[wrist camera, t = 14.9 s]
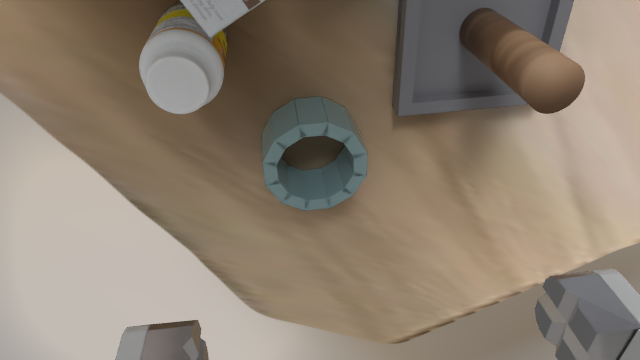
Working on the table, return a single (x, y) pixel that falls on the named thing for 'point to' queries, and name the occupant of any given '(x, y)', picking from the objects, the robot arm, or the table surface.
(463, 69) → the tray
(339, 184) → the tube
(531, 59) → the dowel
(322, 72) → the table surface
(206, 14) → the skincare box
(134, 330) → the robot arm
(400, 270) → the table surface
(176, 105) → the supplement bottle
